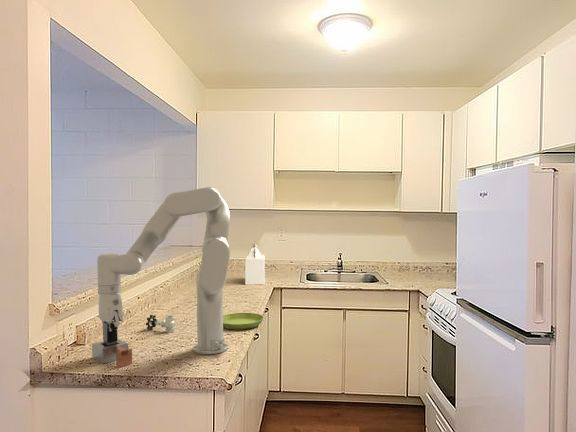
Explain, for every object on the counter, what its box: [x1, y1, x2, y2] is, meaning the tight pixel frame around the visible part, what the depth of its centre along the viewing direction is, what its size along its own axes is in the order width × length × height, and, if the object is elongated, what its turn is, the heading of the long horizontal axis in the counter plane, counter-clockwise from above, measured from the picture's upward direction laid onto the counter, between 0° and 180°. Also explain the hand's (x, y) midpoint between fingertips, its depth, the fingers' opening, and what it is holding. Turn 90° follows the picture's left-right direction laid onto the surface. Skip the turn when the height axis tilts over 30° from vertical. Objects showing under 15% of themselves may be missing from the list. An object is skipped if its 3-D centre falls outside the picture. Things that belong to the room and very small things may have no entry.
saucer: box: [223, 312, 265, 330], centre depth 201 cm, size 21×21×3 cm
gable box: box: [244, 241, 266, 285], centre depth 312 cm, size 22×13×28 cm, turn 3°
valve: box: [145, 314, 176, 334], centre depth 191 cm, size 7×7×12 cm
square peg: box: [102, 320, 116, 347], centre depth 157 cm, size 3×3×9 cm
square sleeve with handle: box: [91, 338, 133, 368], centre depth 155 cm, size 16×9×5 cm, turn 45°
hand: (110, 340), depth 157 cm, fingers closed on square peg, 3 cm apart
